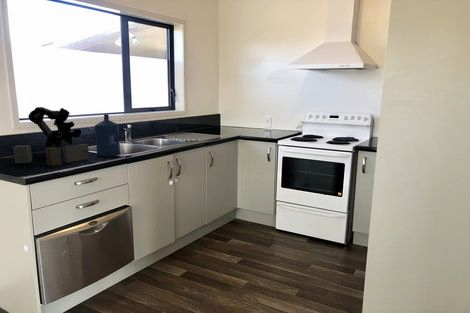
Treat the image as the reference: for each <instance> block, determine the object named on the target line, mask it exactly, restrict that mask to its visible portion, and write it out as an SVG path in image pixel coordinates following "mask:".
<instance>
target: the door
mask: <svg viewBox="0 0 470 313" xmlns="http://www.w3.org/2000/svg"><path fill="white" fill-rule="evenodd" d="M62 153H63V163H64V164H68V163H73V162H80V161H85V160H89V159H90V155H89V144H88V143H81V144H74V145H65V146H62Z"/></svg>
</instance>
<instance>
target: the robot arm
mask: <svg viewBox="0 0 470 313" xmlns="http://www.w3.org/2000/svg"><path fill="white" fill-rule="evenodd" d="M45 116H46V117H47V118H48V119H50V120H51V121H53V120H54V122H53V126H56V128H57V130H53V131H52V130H51V128H50V127H49V125H48V124H47V123H46V122H45V120H44V117H45ZM69 116H70V111H69V110H67V109H65V108H64V107H60V108H59V110H52V109H49V108H46V107H44V106H36V107H35V108H34V109H33V110H31V111H30V112H29V114H28V120H29V121H30V122H31V121H32V122H34V123H33V124H35V125H37V127H38V128H39V129H40V130H41V131H42V133H43V134H44V135H45V136H46V142H45V143H44V144H45V147H46V148H51V147H57V148H59V147H62V143H63V141H64V142H65V143H67V144H69V146H72V144H73V140H72V139H73V138H79V137H80V136H81V134H82V129H80V128H75V129H73V130H72V129H71V128H73V127H75V123H74V121H68V122H67V120H68V119H69ZM32 122H31V123H32ZM71 130H72V131H71Z"/></svg>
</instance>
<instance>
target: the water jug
mask: <svg viewBox="0 0 470 313" xmlns="http://www.w3.org/2000/svg"><path fill="white" fill-rule="evenodd" d="M109 118H110V117H109V114H108V113H104V114H103V121H100V122H98V123H96V124H95V125H94V131H95V144H96V145H95V146H96V155H97V156H98V157H114V155H115V156H119V155H120V154H121V145H120V138H119V134H120V127H119V126H120V124H119V123H116V122H114V121H112V120H110V119H109ZM114 136H115V141H114Z"/></svg>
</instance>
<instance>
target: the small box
mask: <svg viewBox="0 0 470 313" xmlns="http://www.w3.org/2000/svg"><path fill="white" fill-rule="evenodd" d="M12 150H13V157H14V163H15V164H29V163H32V162H33V155H32V148H31V144H24V145H22V144H21V145H15V146H12Z"/></svg>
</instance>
